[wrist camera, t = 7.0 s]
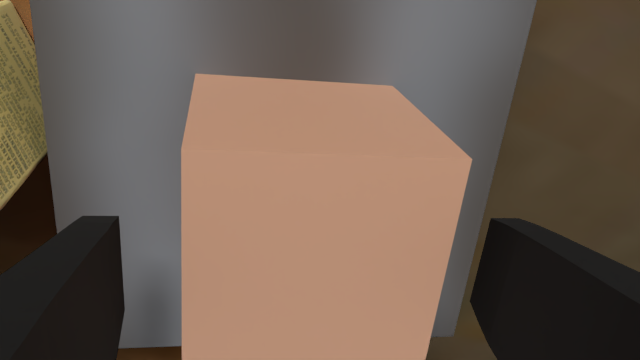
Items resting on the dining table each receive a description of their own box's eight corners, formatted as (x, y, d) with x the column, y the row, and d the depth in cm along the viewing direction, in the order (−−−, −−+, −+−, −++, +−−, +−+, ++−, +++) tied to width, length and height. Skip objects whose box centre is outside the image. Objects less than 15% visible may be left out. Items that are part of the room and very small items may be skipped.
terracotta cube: (193, 249, 15) (181, 385, 11) (195, 73, 13) (180, 149, 9) (366, 250, 16) (421, 374, 12) (392, 85, 14) (472, 159, 10)
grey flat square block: (98, 272, 19) (70, 350, 16) (67, -102, 15) (16, -111, 11) (415, 268, 22) (453, 336, 18) (479, -56, 17) (549, -52, 13)
